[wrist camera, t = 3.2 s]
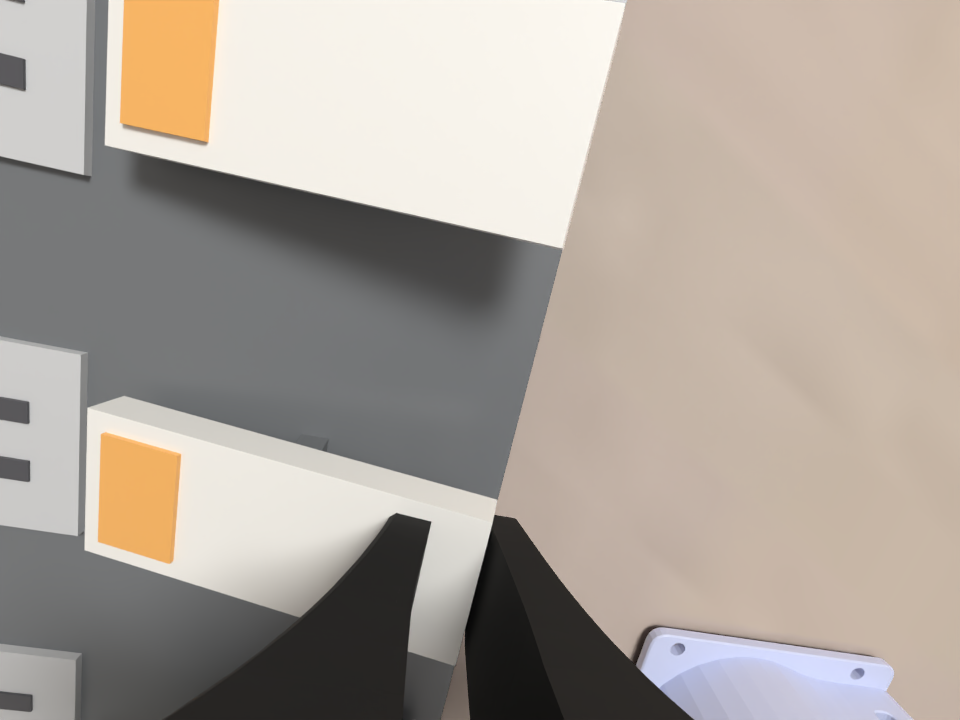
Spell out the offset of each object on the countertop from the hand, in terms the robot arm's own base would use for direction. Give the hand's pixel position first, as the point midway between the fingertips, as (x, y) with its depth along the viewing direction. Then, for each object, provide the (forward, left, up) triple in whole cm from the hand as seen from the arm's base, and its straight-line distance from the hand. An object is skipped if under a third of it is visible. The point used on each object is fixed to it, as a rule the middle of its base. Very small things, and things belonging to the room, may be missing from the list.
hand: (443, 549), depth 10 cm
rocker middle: (+3, 0, 0) cm, 3 cm away
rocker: (+3, -8, 0) cm, 9 cm away
